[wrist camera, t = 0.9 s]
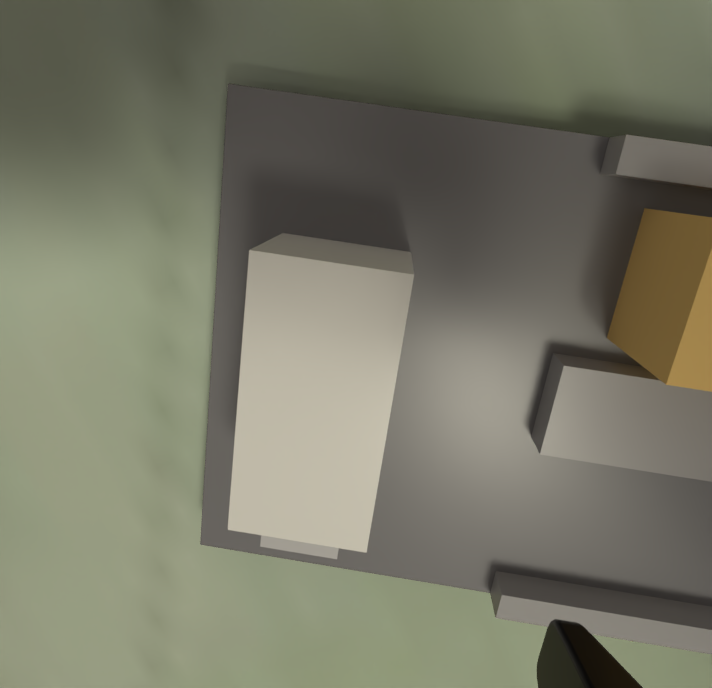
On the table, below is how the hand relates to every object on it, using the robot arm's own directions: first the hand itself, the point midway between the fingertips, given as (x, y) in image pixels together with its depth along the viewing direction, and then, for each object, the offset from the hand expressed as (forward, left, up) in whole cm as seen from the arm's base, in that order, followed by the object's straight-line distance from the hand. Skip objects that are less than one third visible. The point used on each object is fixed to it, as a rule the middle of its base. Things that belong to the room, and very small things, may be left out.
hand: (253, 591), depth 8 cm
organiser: (-7, 0, -12) cm, 14 cm away
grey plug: (0, 0, -10) cm, 10 cm away
